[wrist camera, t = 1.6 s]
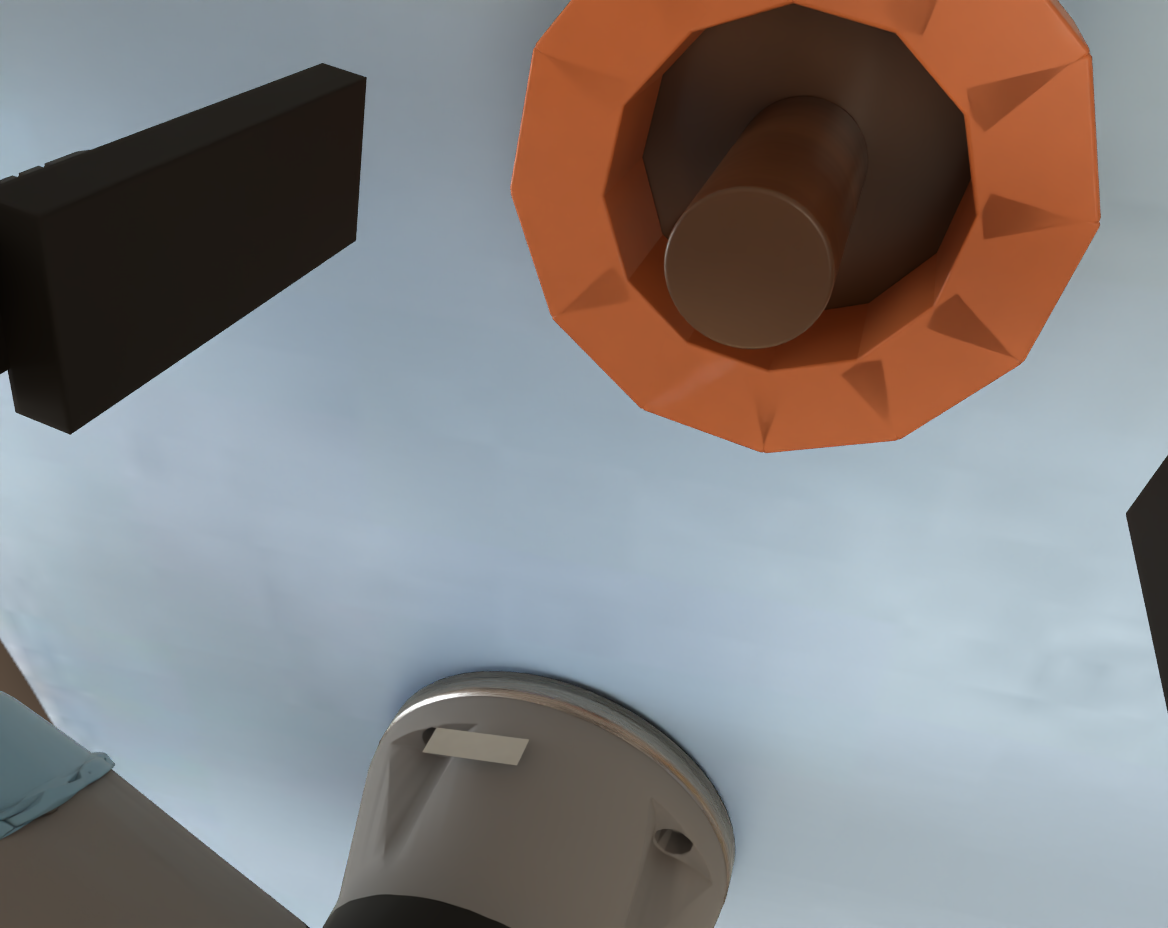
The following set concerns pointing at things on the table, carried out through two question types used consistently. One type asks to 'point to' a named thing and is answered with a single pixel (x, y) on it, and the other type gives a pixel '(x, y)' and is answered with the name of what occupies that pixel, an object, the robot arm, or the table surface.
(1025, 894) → the table surface
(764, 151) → the walnut peg
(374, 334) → the table surface
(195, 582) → the table surface
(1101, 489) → the table surface
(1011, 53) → the ring
